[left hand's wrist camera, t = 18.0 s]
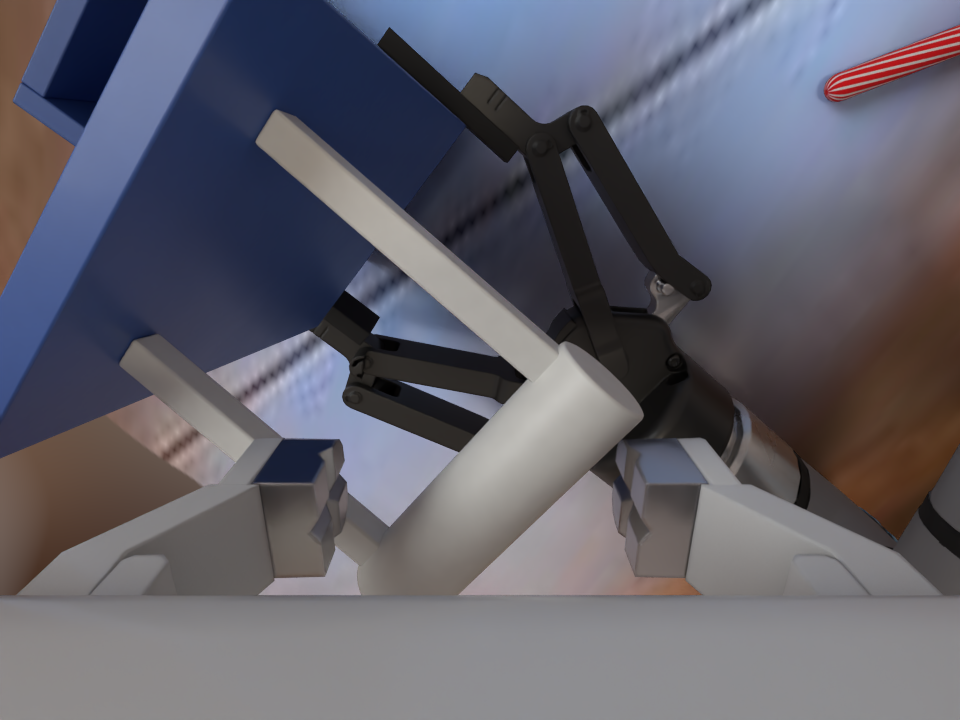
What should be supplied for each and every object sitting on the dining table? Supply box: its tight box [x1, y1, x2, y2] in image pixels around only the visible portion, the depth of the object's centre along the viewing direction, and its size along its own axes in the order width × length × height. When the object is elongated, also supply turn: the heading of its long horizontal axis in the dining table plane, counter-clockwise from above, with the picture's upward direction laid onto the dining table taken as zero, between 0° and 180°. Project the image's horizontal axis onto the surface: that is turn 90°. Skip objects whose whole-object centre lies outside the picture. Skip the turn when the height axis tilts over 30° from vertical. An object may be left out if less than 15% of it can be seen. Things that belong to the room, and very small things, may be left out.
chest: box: [13, 0, 148, 146], centre depth 24 cm, size 12×10×11 cm
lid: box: [0, 0, 644, 595], centre depth 14 cm, size 13×10×9 cm
